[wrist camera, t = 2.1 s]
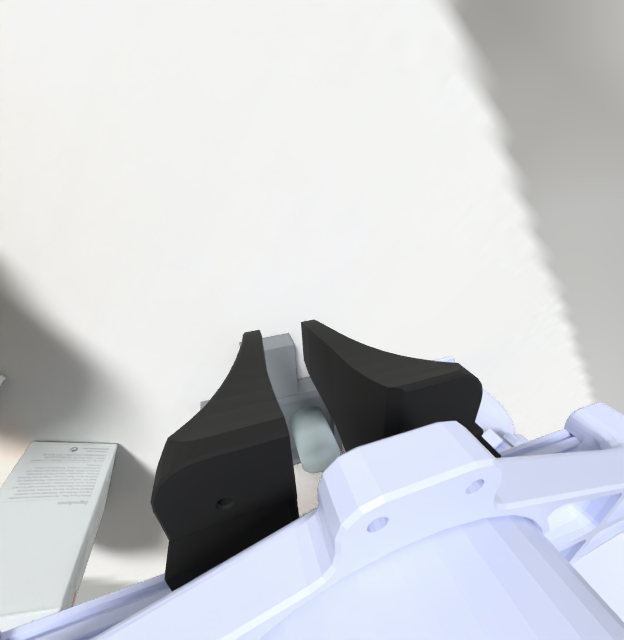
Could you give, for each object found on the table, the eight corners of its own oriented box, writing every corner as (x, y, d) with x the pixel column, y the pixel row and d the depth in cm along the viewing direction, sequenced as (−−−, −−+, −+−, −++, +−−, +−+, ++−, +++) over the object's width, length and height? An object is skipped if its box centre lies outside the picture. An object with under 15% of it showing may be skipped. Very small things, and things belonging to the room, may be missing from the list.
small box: (32, 438, 21) (-105, 636, 12) (120, 441, 23) (62, 609, 14) (26, 509, 23) (-91, 717, 14) (106, 506, 26) (48, 683, 17)
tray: (334, 324, 24) (361, 358, 20) (335, 435, 31) (355, 479, 27) (185, 353, 21) (178, 400, 17) (221, 469, 28) (223, 524, 24)
